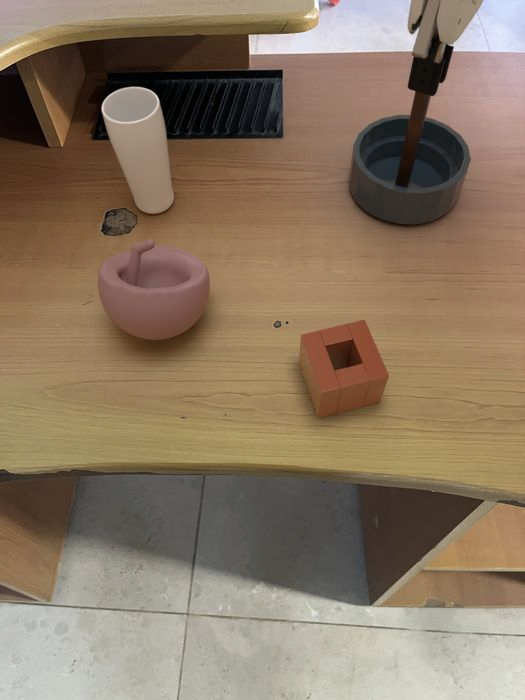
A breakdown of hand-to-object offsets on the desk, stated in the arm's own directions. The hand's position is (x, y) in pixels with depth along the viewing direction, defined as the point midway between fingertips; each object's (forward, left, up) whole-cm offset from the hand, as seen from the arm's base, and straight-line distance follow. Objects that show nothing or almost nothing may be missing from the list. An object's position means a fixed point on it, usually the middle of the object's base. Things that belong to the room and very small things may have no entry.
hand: (426, 83), depth 63 cm
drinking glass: (+32, -8, -17) cm, 37 cm away
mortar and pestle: (+34, +11, -17) cm, 39 cm away
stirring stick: (0, 0, -15) cm, 15 cm away
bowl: (-1, -1, -16) cm, 16 cm away
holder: (+17, +25, -16) cm, 34 cm away
